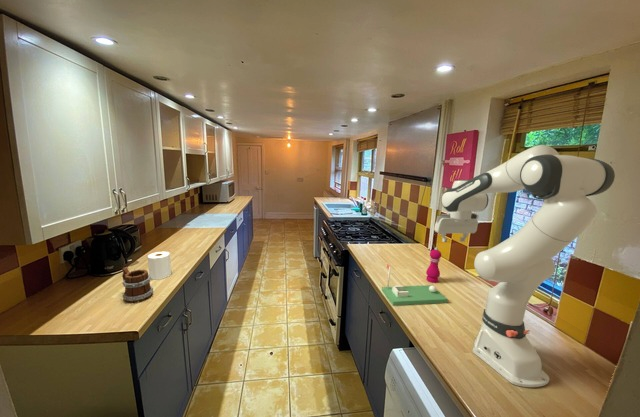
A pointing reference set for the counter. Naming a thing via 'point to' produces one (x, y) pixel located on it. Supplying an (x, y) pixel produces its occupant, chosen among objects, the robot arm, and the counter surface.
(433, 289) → the ball
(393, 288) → the green
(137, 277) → the wooden bucket
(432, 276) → the pepper mill
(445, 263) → the counter surface
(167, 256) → the toilet paper
